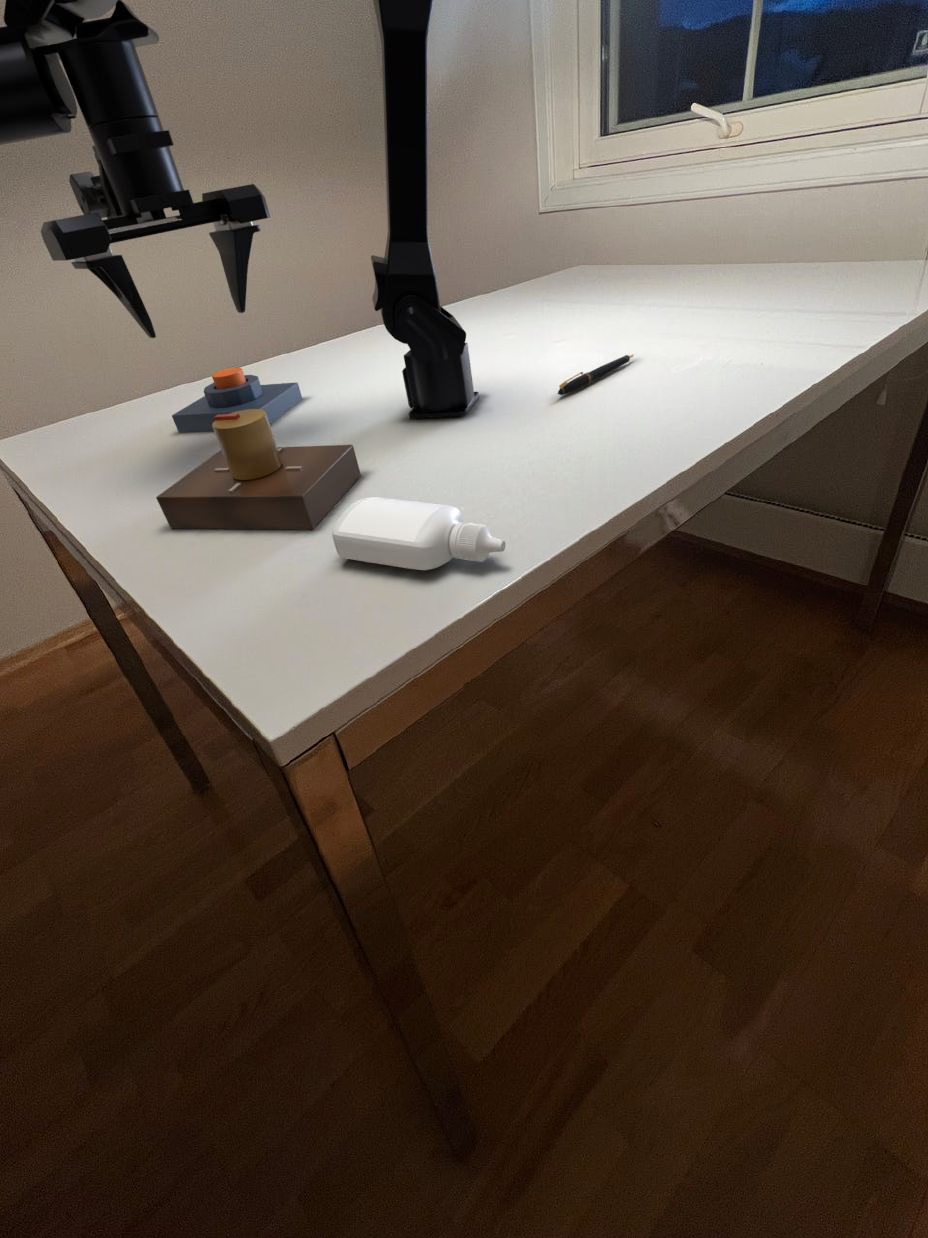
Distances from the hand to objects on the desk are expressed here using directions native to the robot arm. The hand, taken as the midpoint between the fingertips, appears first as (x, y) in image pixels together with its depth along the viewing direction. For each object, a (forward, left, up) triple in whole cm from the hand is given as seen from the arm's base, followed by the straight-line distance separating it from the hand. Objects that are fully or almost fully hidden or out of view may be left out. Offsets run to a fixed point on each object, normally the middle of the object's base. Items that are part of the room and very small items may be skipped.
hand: (198, 324), depth 62 cm
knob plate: (-10, +13, -13) cm, 21 cm away
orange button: (+7, -10, -9) cm, 15 cm away
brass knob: (-10, +13, -10) cm, 19 cm away
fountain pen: (-36, -16, -13) cm, 42 cm away
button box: (+7, -10, -13) cm, 17 cm away
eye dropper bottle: (-22, +20, -11) cm, 32 cm away
